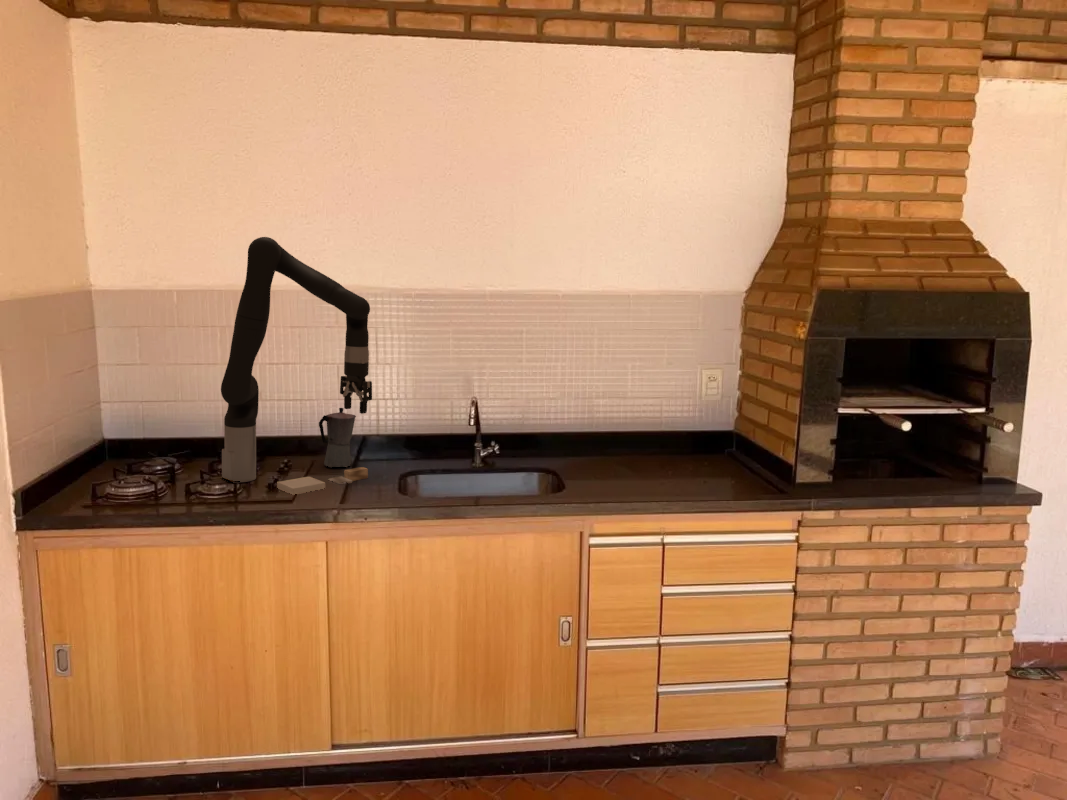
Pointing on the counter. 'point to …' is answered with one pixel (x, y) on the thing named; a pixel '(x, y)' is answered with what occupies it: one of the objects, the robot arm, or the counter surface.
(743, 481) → the counter surface
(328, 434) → the moka pot
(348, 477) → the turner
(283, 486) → the tile
